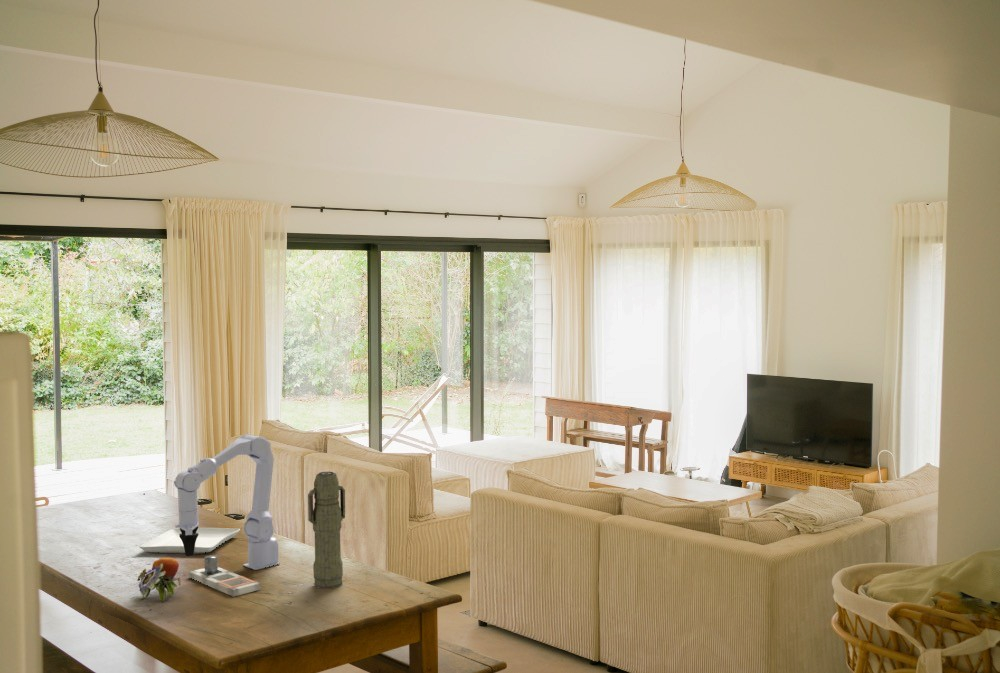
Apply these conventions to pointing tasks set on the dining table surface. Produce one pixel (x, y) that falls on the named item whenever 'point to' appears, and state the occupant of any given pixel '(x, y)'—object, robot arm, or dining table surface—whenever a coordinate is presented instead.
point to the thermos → (327, 529)
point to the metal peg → (211, 565)
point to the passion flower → (155, 582)
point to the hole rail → (226, 581)
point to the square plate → (204, 542)
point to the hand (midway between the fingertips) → (189, 552)
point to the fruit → (167, 566)
